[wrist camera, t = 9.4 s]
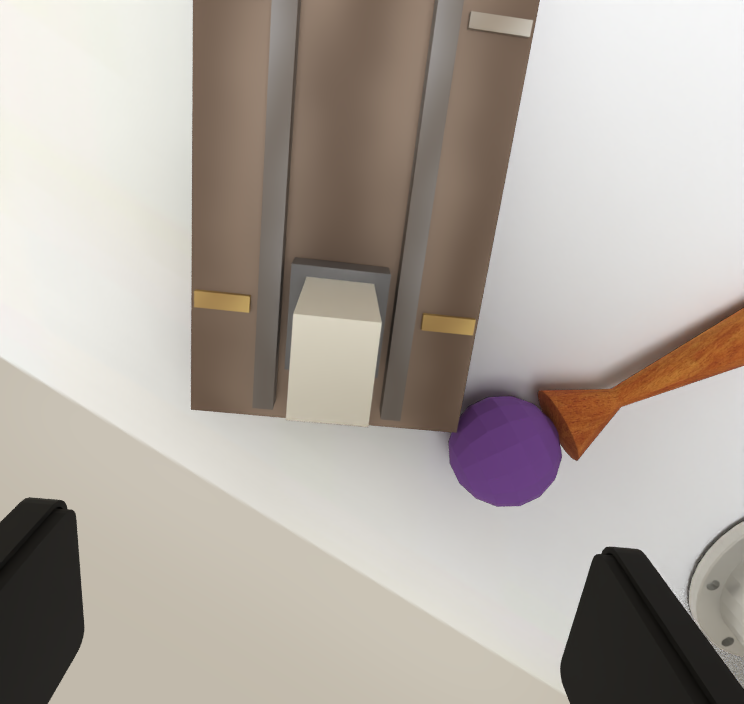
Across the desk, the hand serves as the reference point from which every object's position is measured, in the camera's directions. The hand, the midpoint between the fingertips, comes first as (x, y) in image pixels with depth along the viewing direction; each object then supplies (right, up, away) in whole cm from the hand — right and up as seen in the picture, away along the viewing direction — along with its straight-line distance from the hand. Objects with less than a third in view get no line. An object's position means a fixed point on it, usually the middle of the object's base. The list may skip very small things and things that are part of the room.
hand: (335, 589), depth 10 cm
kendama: (+14, +3, +22) cm, 26 cm away
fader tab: (-1, +6, +16) cm, 17 cm away
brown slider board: (-1, +12, +18) cm, 21 cm away
